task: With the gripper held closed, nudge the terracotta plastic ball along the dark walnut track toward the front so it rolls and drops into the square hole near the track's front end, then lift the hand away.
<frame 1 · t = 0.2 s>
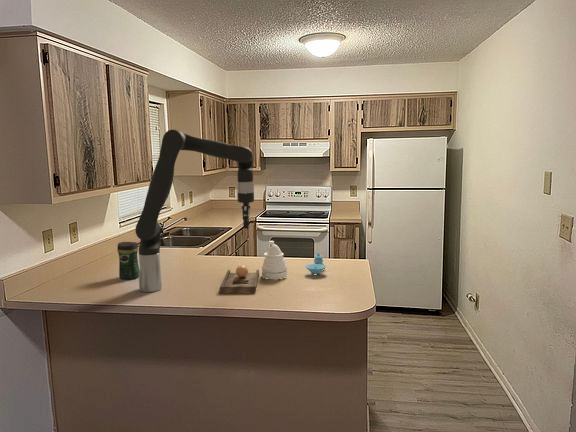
hand: (246, 226, 201), 29 cm above the worktop, fingers open, 8 cm apart
light blue flared piece: (316, 273, 230), on the worktop
honey pot: (274, 276, 223), on the worktop
coffee jar: (129, 277, 224), on the worktop
ball: (241, 271, 217), point 4 cm above the worktop, touching track
track: (241, 283, 211), on the worktop
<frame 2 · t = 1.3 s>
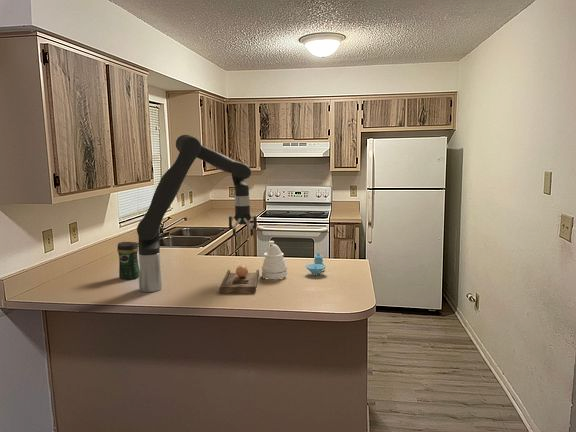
hand: (243, 236, 224), 20 cm above the worktop, fingers open, 8 cm apart
nothing on the worktop moved.
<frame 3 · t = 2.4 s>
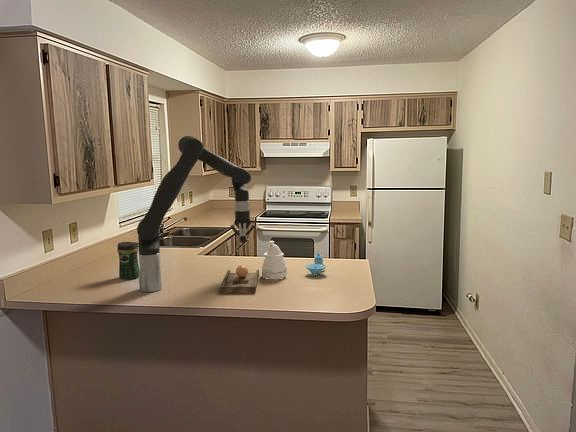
hand: (243, 243, 225), 17 cm above the worktop, fingers closed
nothing on the worktop moved.
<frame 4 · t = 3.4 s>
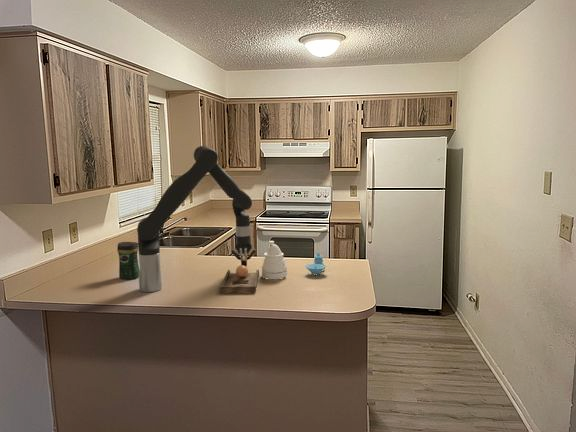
hand: (244, 267, 227), 4 cm above the worktop, fingers closed
nothing on the worktop moved.
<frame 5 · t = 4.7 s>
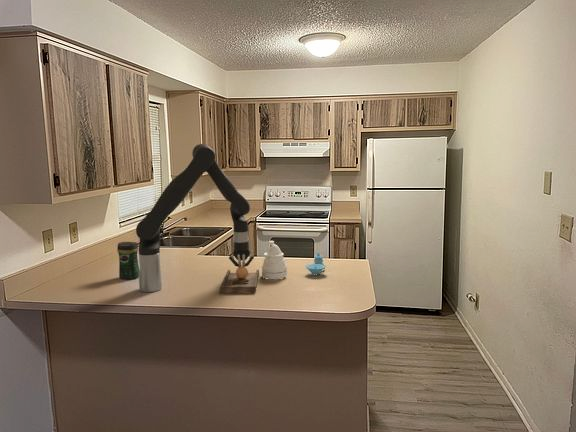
hand: (242, 274, 218), 3 cm above the worktop, fingers closed
ball: (241, 272, 214), point 4 cm above the worktop, tilted 39°, touching gripper, track
everything else where it was.
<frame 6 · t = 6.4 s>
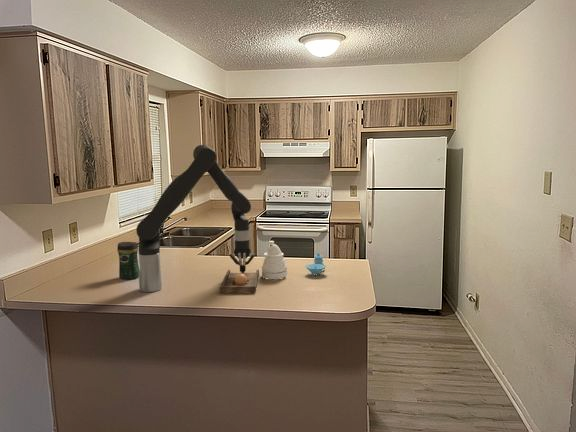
hand: (242, 272, 221), 3 cm above the worktop, fingers closed
ball: (241, 280, 207), point 3 cm above the worktop, tilted 177°
everything else where it was.
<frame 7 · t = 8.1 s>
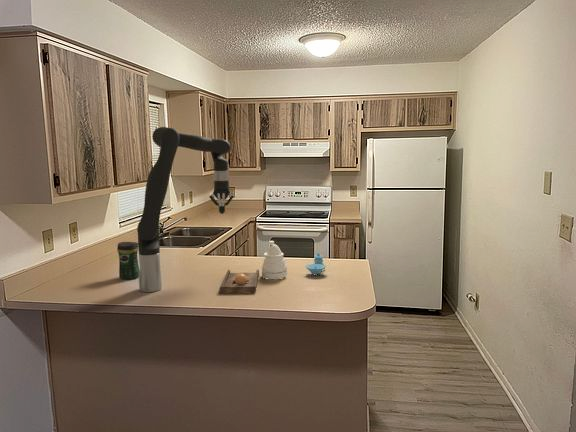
hand: (222, 213, 225), 32 cm above the worktop, fingers closed
nothing on the worktop moved.
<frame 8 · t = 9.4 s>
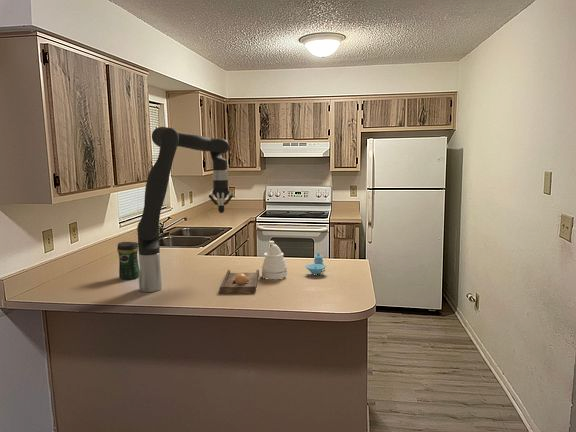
hand: (221, 212, 225), 32 cm above the worktop, fingers closed
nothing on the worktop moved.
at the end: ball 0.8 cm from the target spot on the track, point 3.0 cm above the track's base; ball touching worktop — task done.
